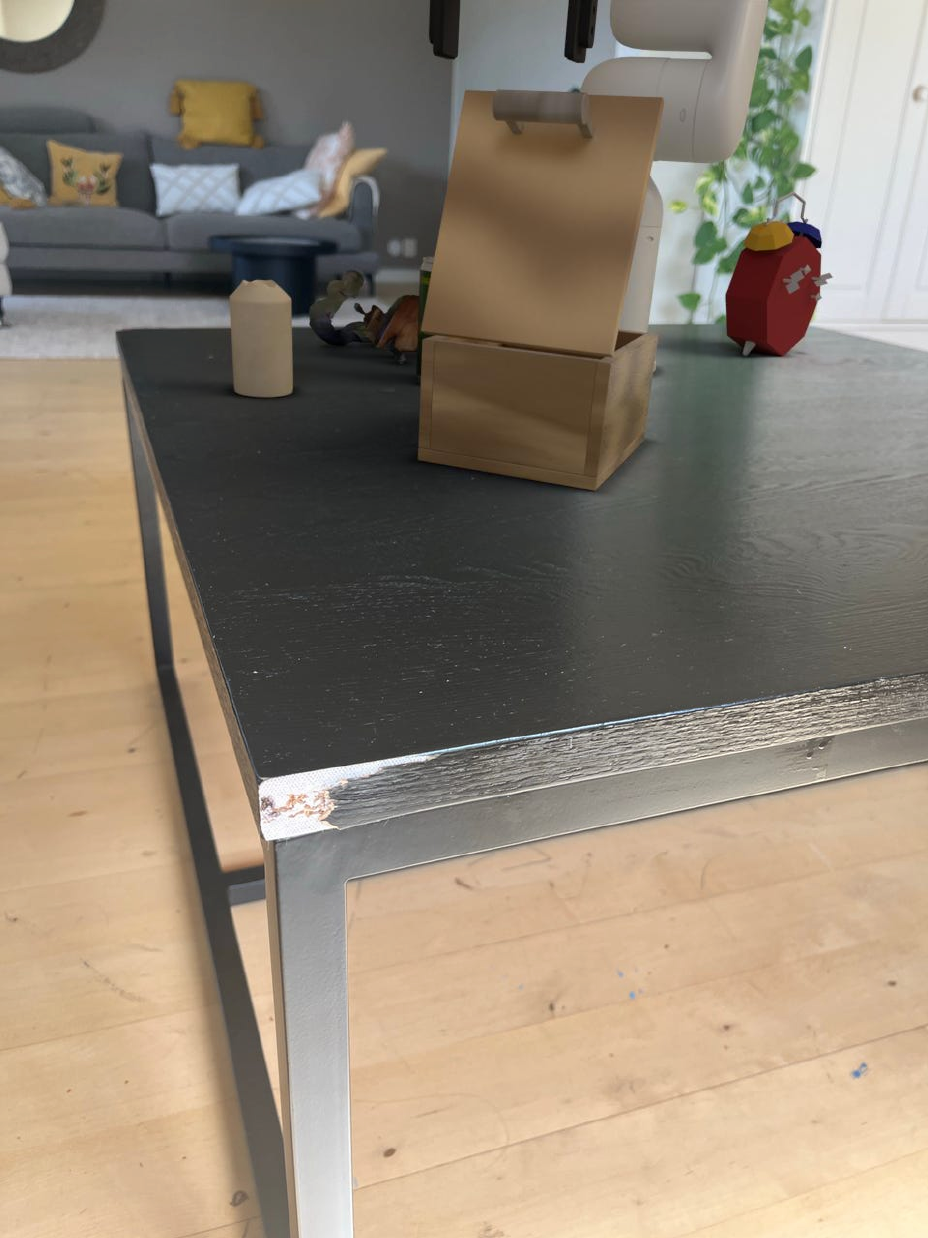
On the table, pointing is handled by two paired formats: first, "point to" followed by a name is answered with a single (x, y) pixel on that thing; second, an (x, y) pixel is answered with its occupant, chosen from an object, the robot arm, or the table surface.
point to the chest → (534, 408)
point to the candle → (261, 339)
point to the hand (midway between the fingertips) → (508, 58)
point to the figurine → (367, 319)
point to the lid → (542, 218)
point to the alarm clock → (775, 285)
